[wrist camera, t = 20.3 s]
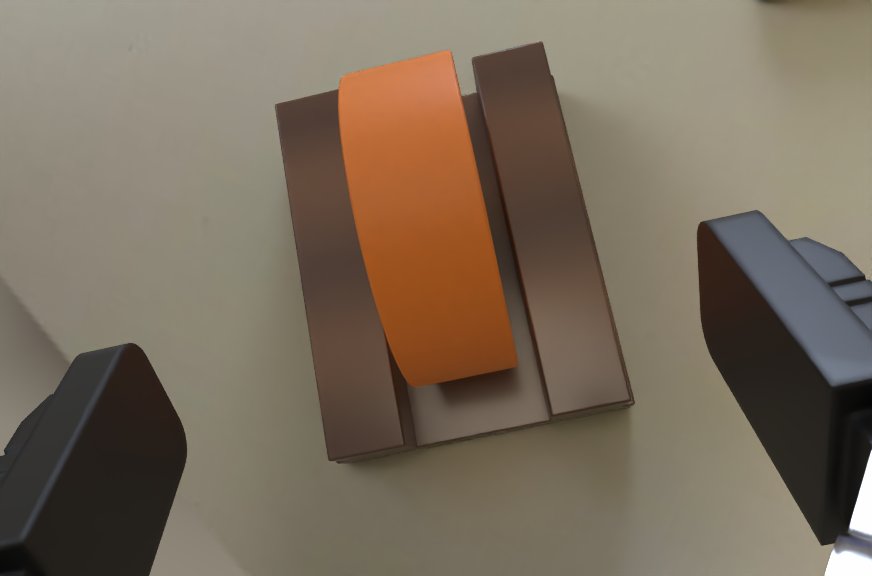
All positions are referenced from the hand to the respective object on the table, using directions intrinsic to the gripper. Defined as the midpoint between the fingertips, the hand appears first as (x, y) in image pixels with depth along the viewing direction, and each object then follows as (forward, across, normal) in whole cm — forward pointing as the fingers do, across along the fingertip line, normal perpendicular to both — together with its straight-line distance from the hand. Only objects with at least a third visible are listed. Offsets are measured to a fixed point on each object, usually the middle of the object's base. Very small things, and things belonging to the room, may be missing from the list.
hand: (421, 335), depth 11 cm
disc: (+14, 0, +7) cm, 16 cm away
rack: (+15, 0, +8) cm, 17 cm away
